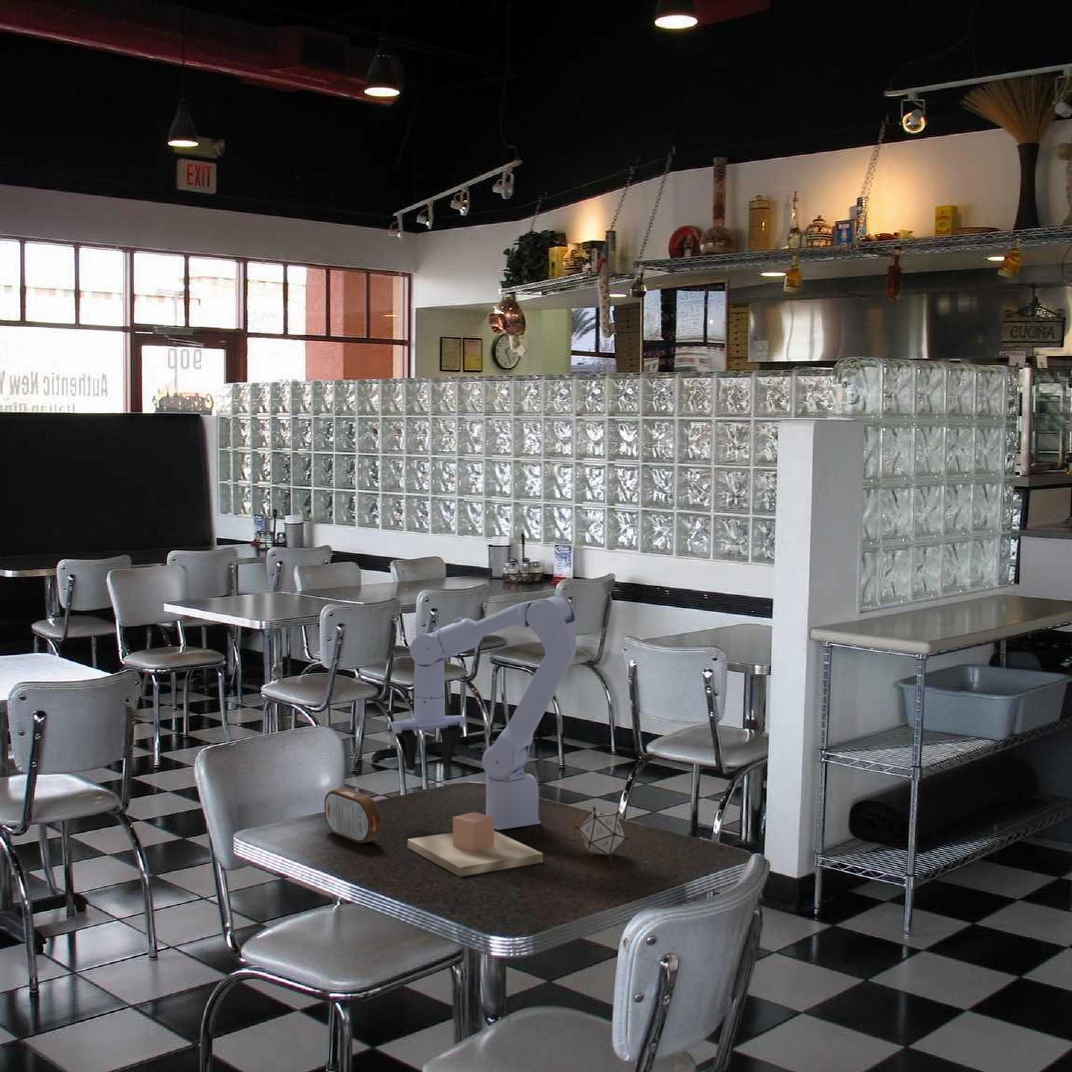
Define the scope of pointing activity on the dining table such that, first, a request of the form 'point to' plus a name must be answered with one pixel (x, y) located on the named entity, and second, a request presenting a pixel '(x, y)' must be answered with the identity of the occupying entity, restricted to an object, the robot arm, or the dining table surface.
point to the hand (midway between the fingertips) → (428, 767)
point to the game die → (601, 832)
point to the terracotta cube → (473, 831)
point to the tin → (352, 815)
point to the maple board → (474, 854)
